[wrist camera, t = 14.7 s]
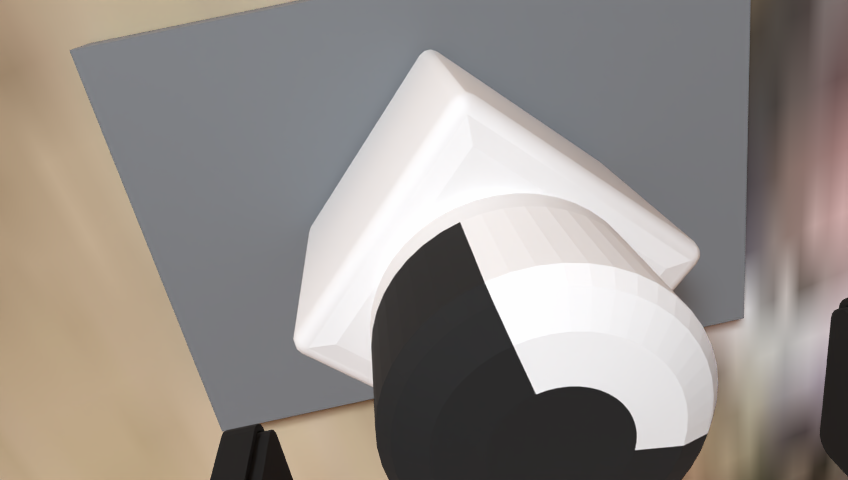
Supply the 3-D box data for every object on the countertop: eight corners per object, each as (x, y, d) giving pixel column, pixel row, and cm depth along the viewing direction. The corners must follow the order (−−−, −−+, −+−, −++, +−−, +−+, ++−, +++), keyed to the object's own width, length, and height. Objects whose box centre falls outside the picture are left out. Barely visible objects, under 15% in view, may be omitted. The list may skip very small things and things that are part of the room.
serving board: (725, -88, 20) (752, -91, 19) (723, 299, 26) (743, 318, 25) (88, 43, 20) (69, 50, 19) (228, 405, 26) (221, 431, 24)
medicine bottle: (480, 326, 24) (590, 646, 13) (305, 231, 22) (259, 519, 11) (604, 164, 22) (862, 379, 11) (425, 42, 20) (520, 158, 9)
